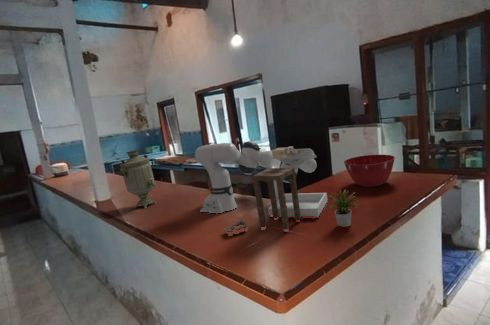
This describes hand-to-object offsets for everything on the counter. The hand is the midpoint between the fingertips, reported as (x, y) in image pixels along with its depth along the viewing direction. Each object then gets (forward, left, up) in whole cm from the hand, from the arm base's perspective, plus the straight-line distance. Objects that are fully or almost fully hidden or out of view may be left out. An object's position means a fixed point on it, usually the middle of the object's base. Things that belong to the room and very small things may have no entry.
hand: (286, 149), depth 149 cm
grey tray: (0, +7, -33) cm, 34 cm away
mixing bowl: (+33, +51, -34) cm, 69 cm away
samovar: (-112, +14, -34) cm, 118 cm away
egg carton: (-22, -23, -34) cm, 47 cm away
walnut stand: (-3, -14, -33) cm, 36 cm away
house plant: (+25, -13, -34) cm, 44 cm away
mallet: (0, -2, -2) cm, 3 cm away
